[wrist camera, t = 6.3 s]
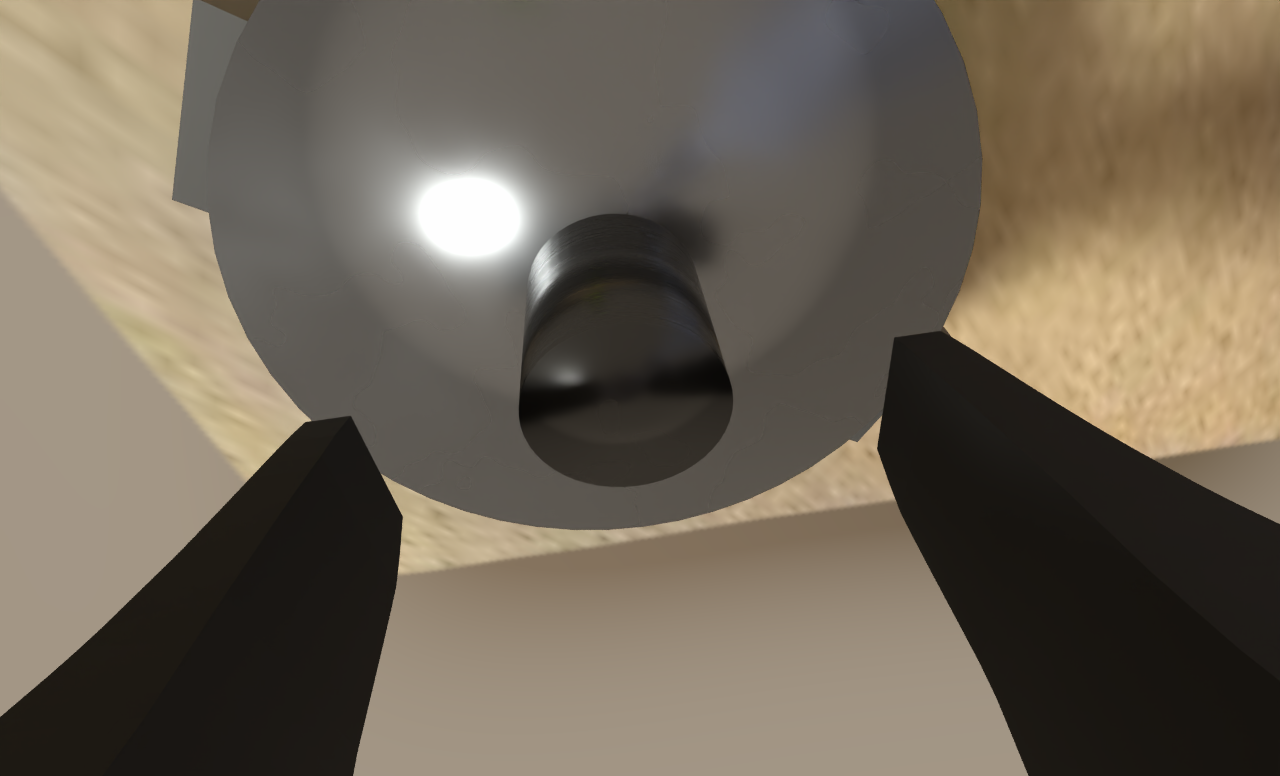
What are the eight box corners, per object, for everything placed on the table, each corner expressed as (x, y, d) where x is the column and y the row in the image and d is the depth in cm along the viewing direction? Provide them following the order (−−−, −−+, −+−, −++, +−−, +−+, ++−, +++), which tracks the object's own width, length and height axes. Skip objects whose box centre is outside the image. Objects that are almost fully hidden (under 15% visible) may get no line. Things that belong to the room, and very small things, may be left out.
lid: (833, -442, 7) (1044, -651, 4) (1002, 355, 14) (1125, 501, 11) (42, 130, 10) (-194, 268, 7) (515, 559, 17) (506, 721, 14)
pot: (962, 83, 17) (1118, 181, 12) (725, 404, 22) (769, 554, 18) (354, -300, 12) (219, -387, 7) (254, 240, 17) (143, 389, 13)
